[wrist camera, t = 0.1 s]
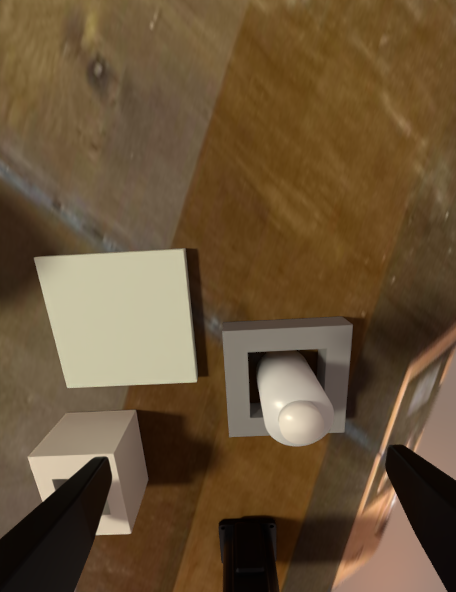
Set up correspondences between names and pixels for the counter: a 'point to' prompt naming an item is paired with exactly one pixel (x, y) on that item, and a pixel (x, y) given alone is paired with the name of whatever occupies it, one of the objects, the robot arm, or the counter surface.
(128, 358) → the dock pad
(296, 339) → the socket
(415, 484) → the robot arm
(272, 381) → the cylinder
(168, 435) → the counter surface
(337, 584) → the counter surface
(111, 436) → the plunger housing
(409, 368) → the counter surface
